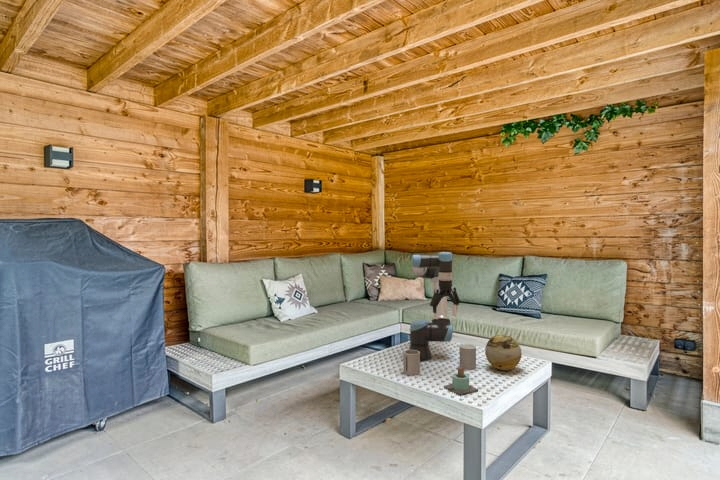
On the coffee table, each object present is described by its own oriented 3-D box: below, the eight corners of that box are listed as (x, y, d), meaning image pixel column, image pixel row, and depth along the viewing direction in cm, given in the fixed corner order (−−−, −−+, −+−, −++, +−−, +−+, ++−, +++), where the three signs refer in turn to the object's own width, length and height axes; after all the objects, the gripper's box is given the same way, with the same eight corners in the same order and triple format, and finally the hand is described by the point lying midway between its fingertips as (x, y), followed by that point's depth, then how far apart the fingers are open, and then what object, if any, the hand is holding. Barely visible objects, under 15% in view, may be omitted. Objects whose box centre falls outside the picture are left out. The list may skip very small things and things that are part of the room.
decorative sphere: (482, 363, 251) (482, 330, 250) (516, 364, 249) (516, 331, 248) (489, 374, 231) (489, 339, 230) (525, 376, 229) (526, 340, 228)
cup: (421, 371, 238) (421, 350, 237) (418, 376, 229) (418, 355, 229) (405, 369, 241) (405, 349, 240) (402, 374, 232) (401, 353, 232)
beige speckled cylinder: (476, 370, 238) (476, 349, 238) (459, 369, 240) (459, 348, 240) (475, 365, 247) (475, 344, 247) (459, 364, 249) (459, 343, 249)
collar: (449, 386, 212) (449, 374, 212) (461, 383, 216) (461, 372, 216) (460, 392, 205) (460, 380, 204) (472, 388, 209) (472, 377, 209)
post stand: (443, 387, 213) (443, 366, 212) (461, 383, 219) (461, 362, 218) (460, 396, 202) (460, 373, 202) (478, 391, 208) (478, 369, 208)
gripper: (432, 282, 223) (432, 321, 224) (466, 278, 235) (466, 316, 236) (423, 280, 229) (423, 318, 230) (457, 277, 242) (457, 313, 242)
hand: (445, 317), depth 233 cm, fingers open, 13 cm apart
